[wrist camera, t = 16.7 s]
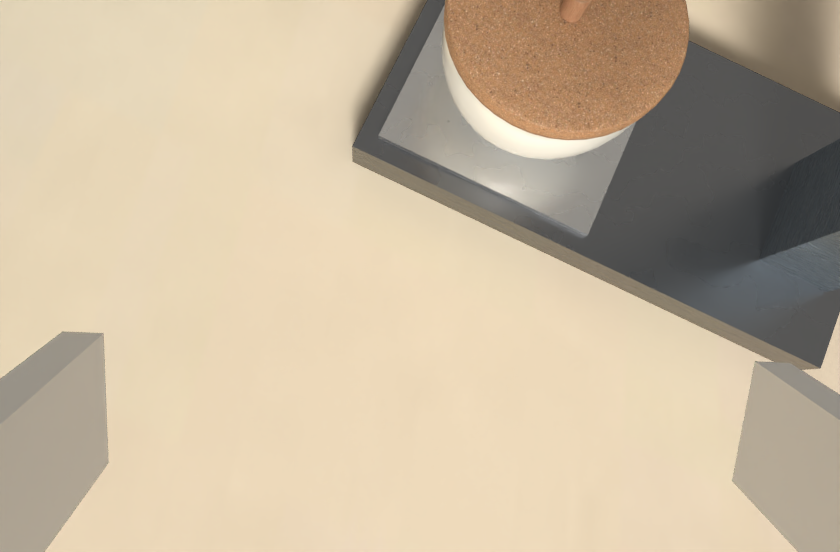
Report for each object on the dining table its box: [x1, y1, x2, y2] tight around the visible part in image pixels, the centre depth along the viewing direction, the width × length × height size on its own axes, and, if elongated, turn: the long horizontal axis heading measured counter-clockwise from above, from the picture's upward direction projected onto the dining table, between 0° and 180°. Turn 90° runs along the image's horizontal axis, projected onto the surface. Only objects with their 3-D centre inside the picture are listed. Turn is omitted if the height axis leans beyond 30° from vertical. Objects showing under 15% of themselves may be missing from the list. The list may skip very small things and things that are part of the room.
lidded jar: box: [441, 0, 689, 160], centre depth 34 cm, size 11×11×9 cm
